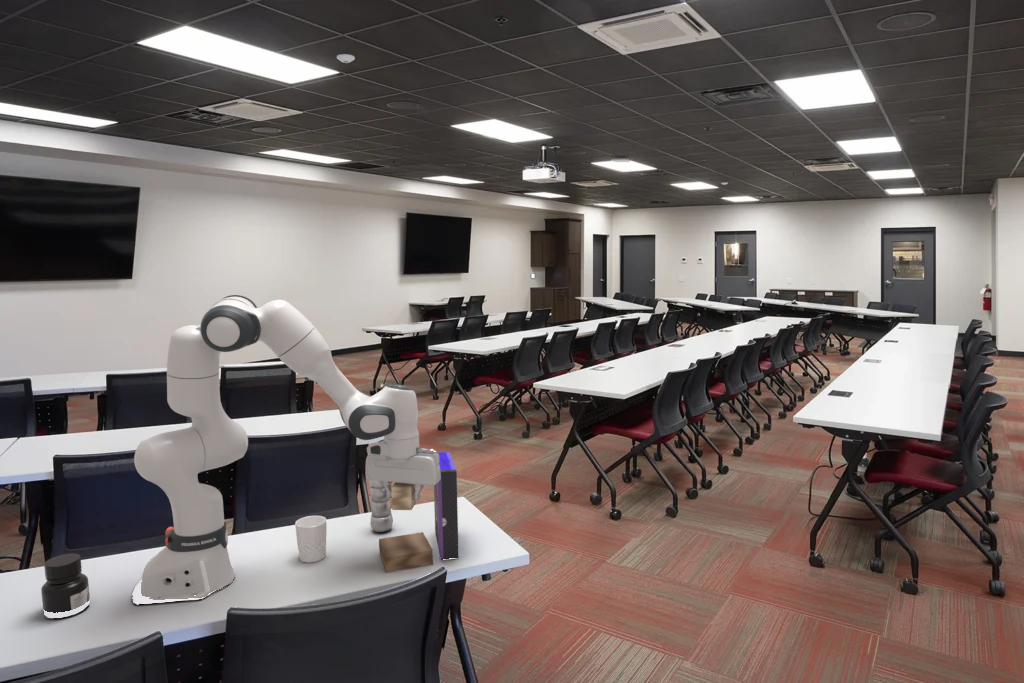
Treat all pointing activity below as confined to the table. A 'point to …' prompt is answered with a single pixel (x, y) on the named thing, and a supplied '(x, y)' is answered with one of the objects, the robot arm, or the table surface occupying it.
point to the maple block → (403, 496)
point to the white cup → (311, 538)
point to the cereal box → (446, 508)
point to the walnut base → (405, 552)
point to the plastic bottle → (380, 507)
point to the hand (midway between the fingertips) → (404, 498)
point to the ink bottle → (64, 584)
